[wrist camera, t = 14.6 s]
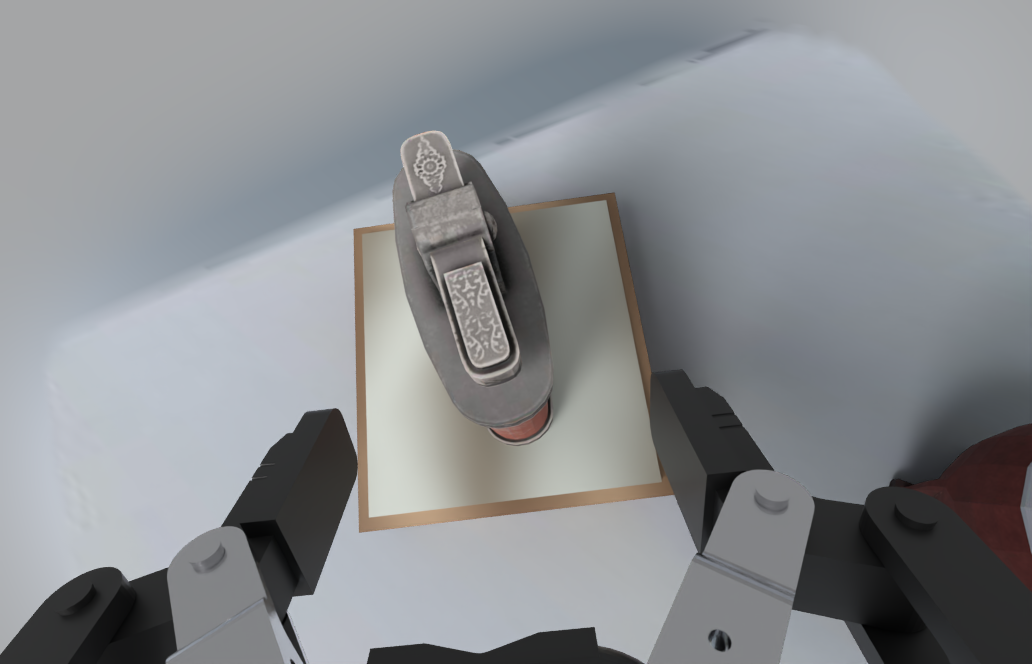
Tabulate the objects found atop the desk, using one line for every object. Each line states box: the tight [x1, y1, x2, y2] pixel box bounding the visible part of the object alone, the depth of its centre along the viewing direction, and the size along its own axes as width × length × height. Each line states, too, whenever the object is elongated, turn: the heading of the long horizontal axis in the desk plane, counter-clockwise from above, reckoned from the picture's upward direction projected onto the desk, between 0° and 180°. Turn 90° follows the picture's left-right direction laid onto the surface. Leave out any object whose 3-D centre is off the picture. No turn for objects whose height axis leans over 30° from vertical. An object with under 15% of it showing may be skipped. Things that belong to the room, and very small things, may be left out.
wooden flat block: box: [354, 193, 674, 533], centre depth 22 cm, size 12×13×4 cm
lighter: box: [393, 131, 554, 446], centre depth 15 cm, size 8×3×10 cm, turn 18°
